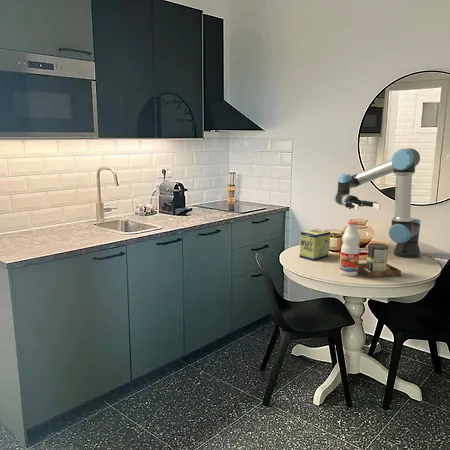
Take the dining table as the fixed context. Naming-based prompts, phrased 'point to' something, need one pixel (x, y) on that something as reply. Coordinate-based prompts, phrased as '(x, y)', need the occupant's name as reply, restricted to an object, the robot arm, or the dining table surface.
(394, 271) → the tray
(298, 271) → the dining table surface
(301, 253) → the protein box
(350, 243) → the fruit juice
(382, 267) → the coffee can
